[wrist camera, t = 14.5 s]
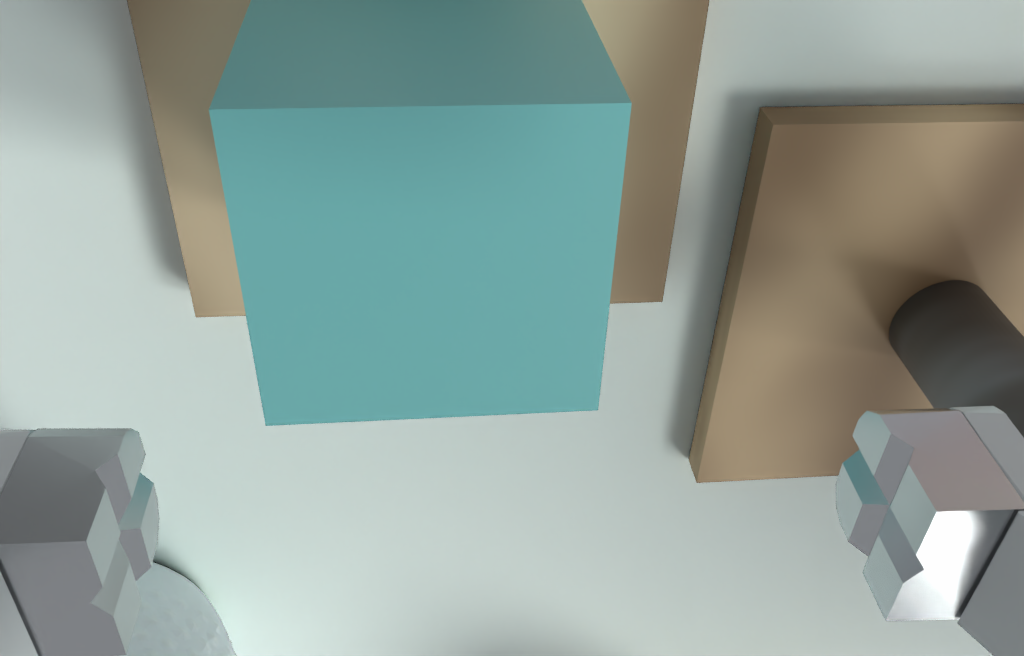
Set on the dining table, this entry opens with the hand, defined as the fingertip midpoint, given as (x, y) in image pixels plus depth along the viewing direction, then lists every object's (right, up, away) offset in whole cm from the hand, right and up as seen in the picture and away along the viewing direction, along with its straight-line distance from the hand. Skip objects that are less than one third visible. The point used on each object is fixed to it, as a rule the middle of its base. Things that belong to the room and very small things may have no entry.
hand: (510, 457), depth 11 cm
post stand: (+12, +2, +16) cm, 20 cm away
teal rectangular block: (-2, +6, +10) cm, 12 cm away
